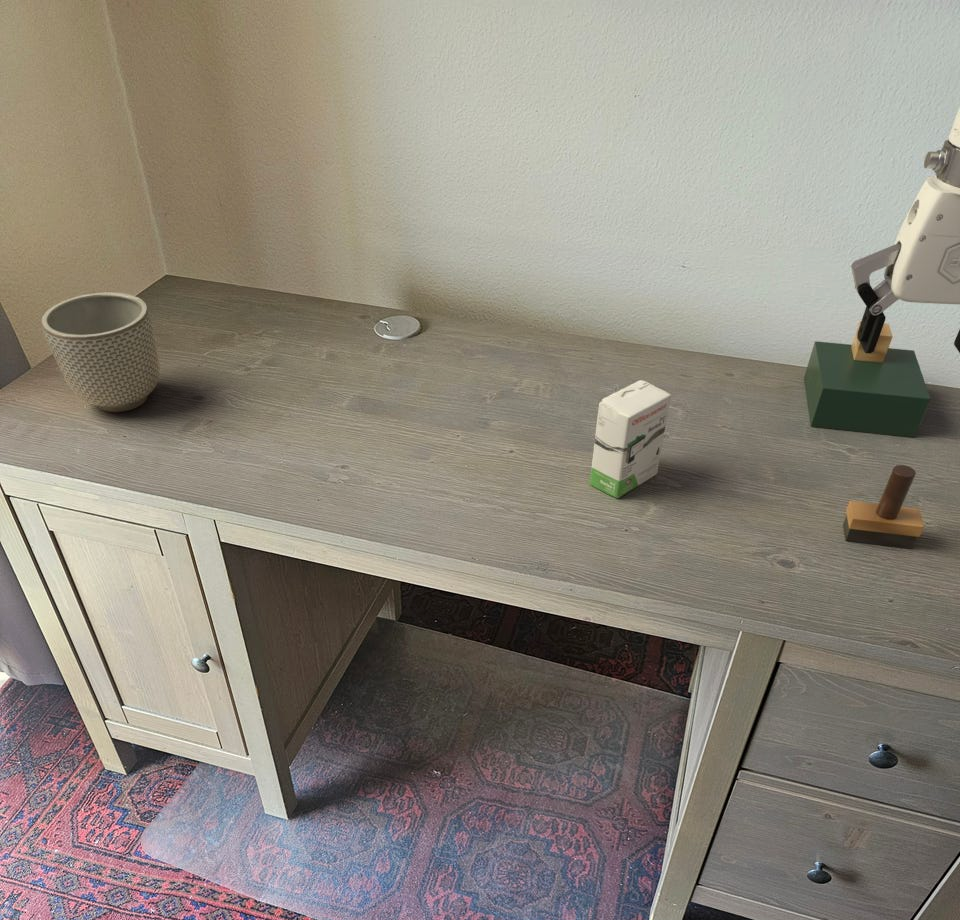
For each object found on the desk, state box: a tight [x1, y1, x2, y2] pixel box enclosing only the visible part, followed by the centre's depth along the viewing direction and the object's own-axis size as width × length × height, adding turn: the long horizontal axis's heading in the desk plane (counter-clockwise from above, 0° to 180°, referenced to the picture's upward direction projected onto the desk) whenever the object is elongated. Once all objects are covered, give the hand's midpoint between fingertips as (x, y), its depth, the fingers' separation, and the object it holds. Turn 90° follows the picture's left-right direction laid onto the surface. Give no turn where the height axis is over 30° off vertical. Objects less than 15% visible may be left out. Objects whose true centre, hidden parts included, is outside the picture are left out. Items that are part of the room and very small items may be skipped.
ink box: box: [589, 379, 672, 499], centre depth 108 cm, size 9×5×12 cm, turn 134°
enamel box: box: [803, 341, 931, 438], centre depth 123 cm, size 14×14×6 cm
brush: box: [842, 464, 925, 550], centre depth 101 cm, size 8×4×10 cm, turn 79°
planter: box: [40, 291, 161, 413], centre depth 120 cm, size 14×14×13 cm
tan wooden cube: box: [851, 320, 893, 363], centre depth 122 cm, size 4×4×4 cm
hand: (913, 349), depth 89 cm, fingers open, 9 cm apart
